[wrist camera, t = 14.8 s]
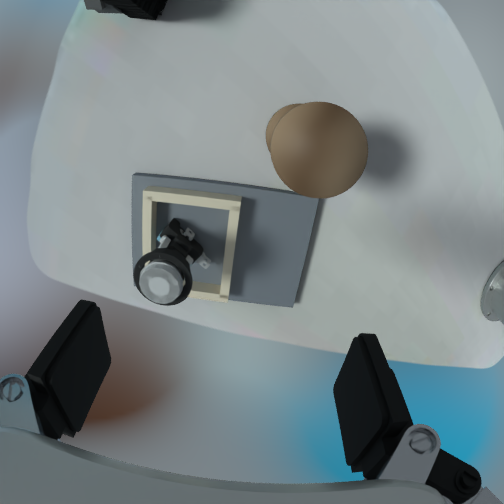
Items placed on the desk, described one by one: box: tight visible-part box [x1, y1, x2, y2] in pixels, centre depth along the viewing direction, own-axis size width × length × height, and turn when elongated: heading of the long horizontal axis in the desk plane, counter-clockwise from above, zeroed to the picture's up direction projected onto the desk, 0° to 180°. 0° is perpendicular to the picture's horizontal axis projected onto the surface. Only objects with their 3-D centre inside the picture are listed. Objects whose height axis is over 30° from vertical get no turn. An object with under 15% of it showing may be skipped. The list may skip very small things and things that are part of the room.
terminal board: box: [132, 173, 319, 307], centre depth 34 cm, size 20×14×3 cm
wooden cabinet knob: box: [266, 102, 368, 199], centre depth 26 cm, size 7×7×11 cm
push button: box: [133, 218, 211, 306], centre depth 30 cm, size 7×5×10 cm
